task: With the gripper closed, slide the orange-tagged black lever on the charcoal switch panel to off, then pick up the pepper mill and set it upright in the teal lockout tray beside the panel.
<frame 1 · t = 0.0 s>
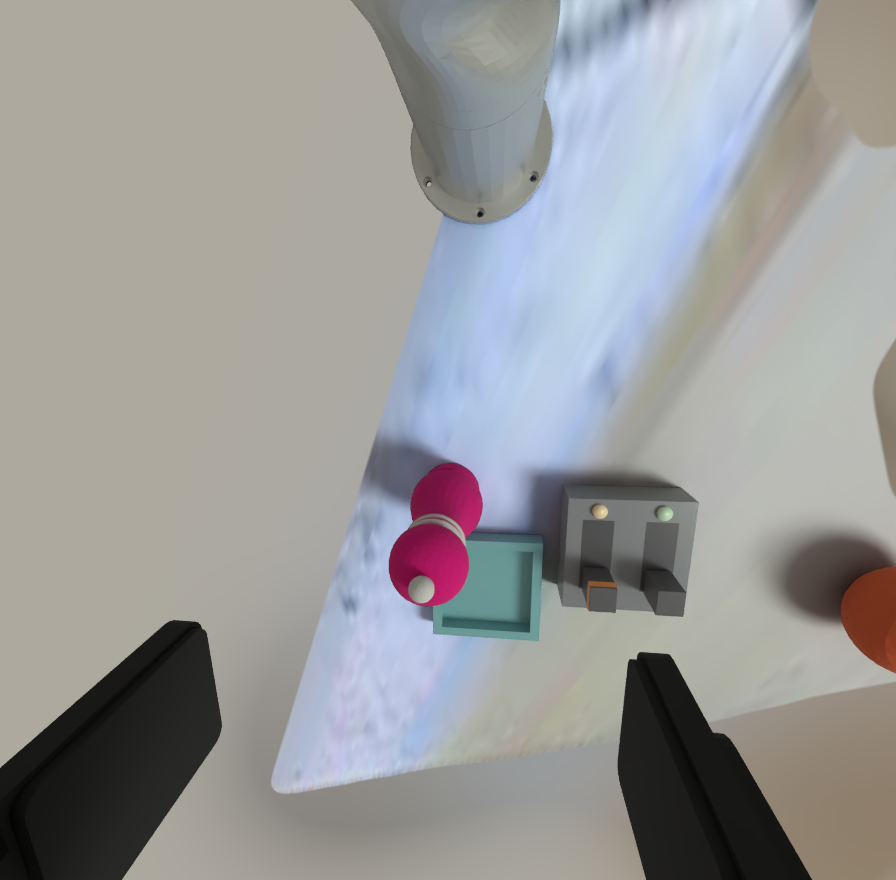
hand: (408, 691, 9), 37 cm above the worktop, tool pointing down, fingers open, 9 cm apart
pepper mill: (451, 489, 47), on the worktop
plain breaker: (663, 592, 41), point 6 cm above the worktop, slide at 0.0 cm
tagged breaker: (598, 589, 42), point 6 cm above the worktop, slide at 0.0 cm
breaker panel: (616, 538, 46), on the worktop
lockout tray: (486, 580, 49), on the worktop
tomato: (868, 591, 45), on the worktop
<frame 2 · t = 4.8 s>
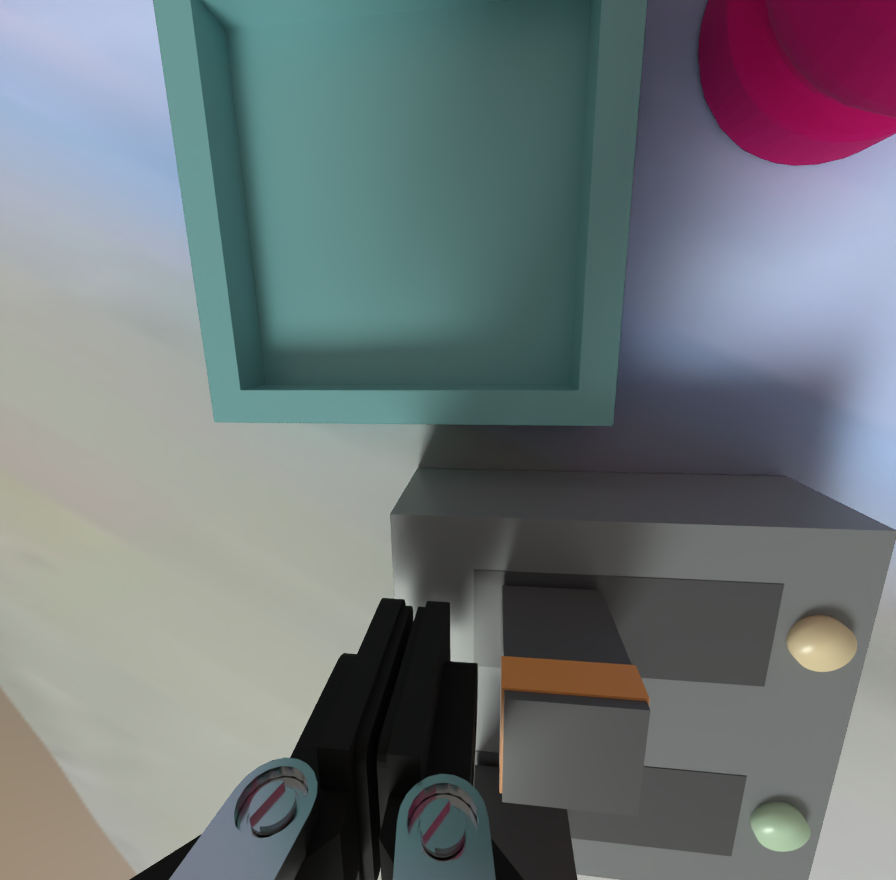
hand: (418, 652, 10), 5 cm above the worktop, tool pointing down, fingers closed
pepper mill: (818, 37, 11), on the worktop
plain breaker: (519, 874, 11), point 6 cm above the worktop, slide at 0.0 cm
tagged breaker: (558, 681, 10), point 6 cm above the worktop, slide at 0.7 cm, touching gripper
breaker panel: (582, 626, 16), on the worktop
lockout tray: (409, 220, 13), on the worktop
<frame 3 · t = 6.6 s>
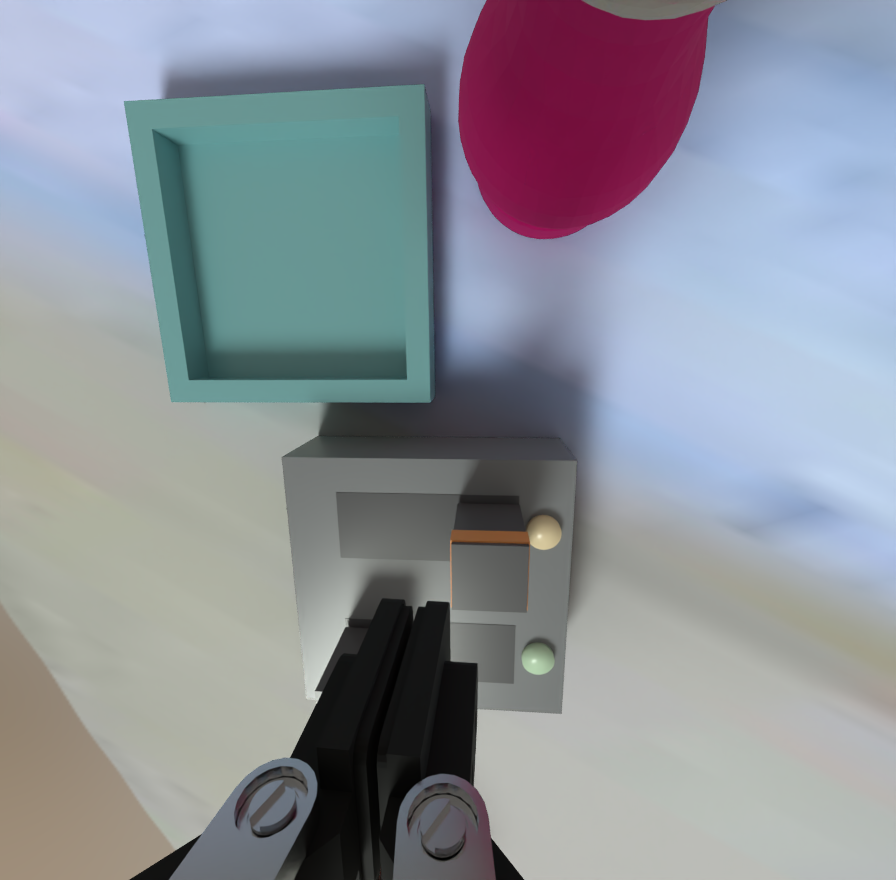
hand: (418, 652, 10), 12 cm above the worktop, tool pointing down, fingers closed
pepper mill: (548, 162, 18), on the worktop
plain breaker: (363, 682, 18), point 6 cm above the worktop, slide at 0.0 cm
tagged breaker: (488, 552, 16), point 6 cm above the worktop, slide at 5.1 cm
breaker panel: (437, 548, 23), on the worktop
lockout tray: (304, 267, 20), on the worktop
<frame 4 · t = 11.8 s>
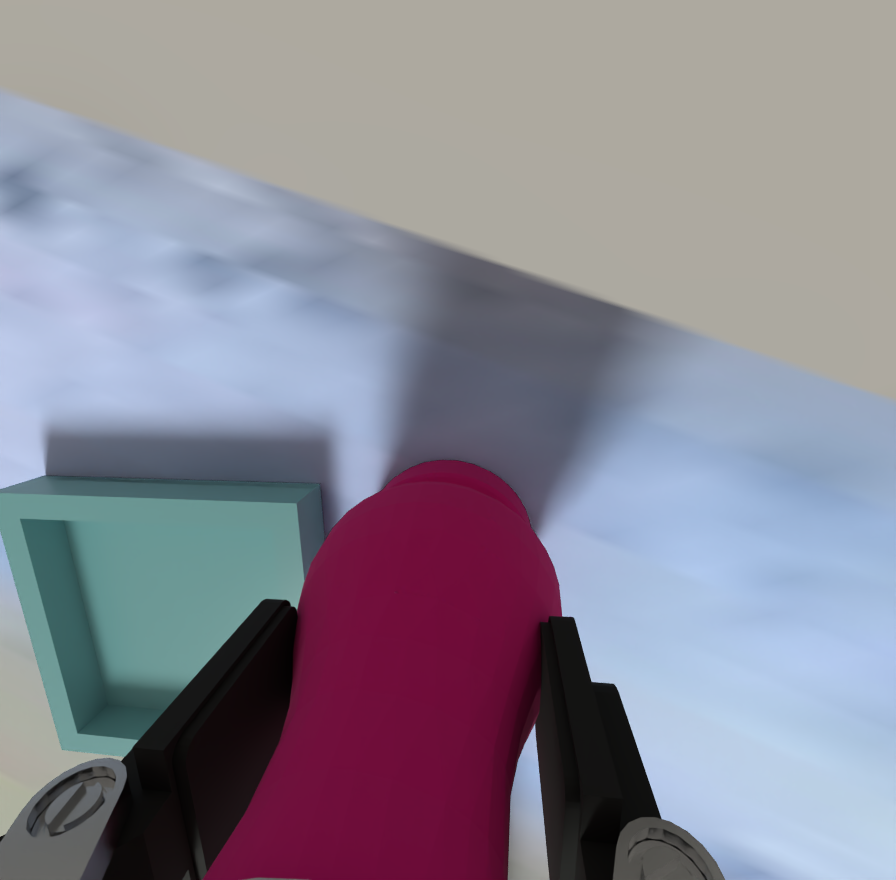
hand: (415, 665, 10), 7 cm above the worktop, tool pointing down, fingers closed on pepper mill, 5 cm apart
pepper mill: (449, 534, 17), on the worktop, touching gripper
lockout tray: (198, 610, 19), on the worktop
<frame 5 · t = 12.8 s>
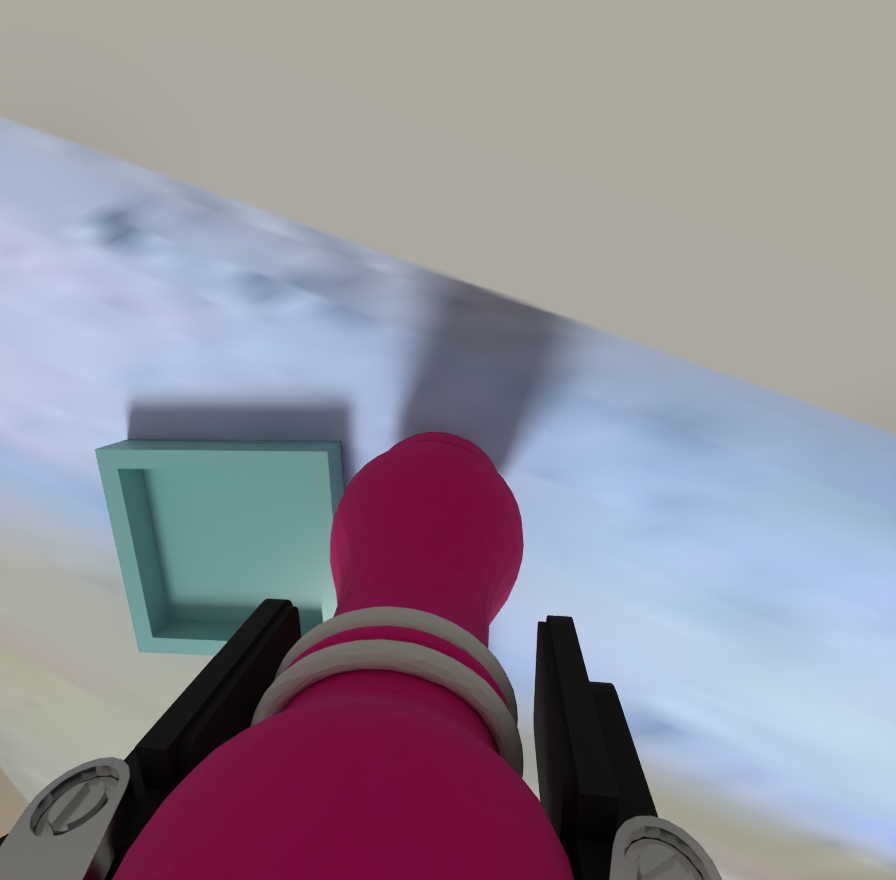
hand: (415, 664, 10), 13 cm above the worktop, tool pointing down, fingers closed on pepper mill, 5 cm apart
pepper mill: (436, 492, 21), point 2 cm above the worktop, touching gripper
lockout tray: (245, 542, 24), on the worktop
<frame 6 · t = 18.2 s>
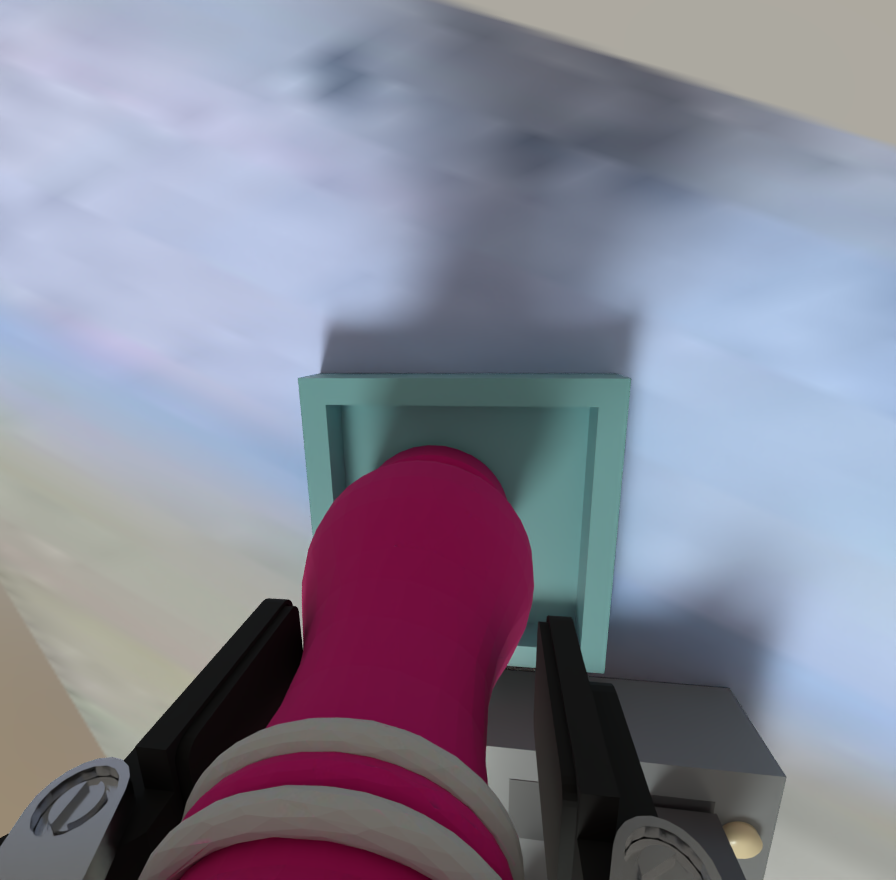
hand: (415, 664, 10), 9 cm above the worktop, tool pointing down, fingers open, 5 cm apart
pepper mill: (435, 513, 18), resting on lockout tray
breaker panel: (582, 777, 21), on the worktop
lockout tray: (462, 511, 19), on the worktop
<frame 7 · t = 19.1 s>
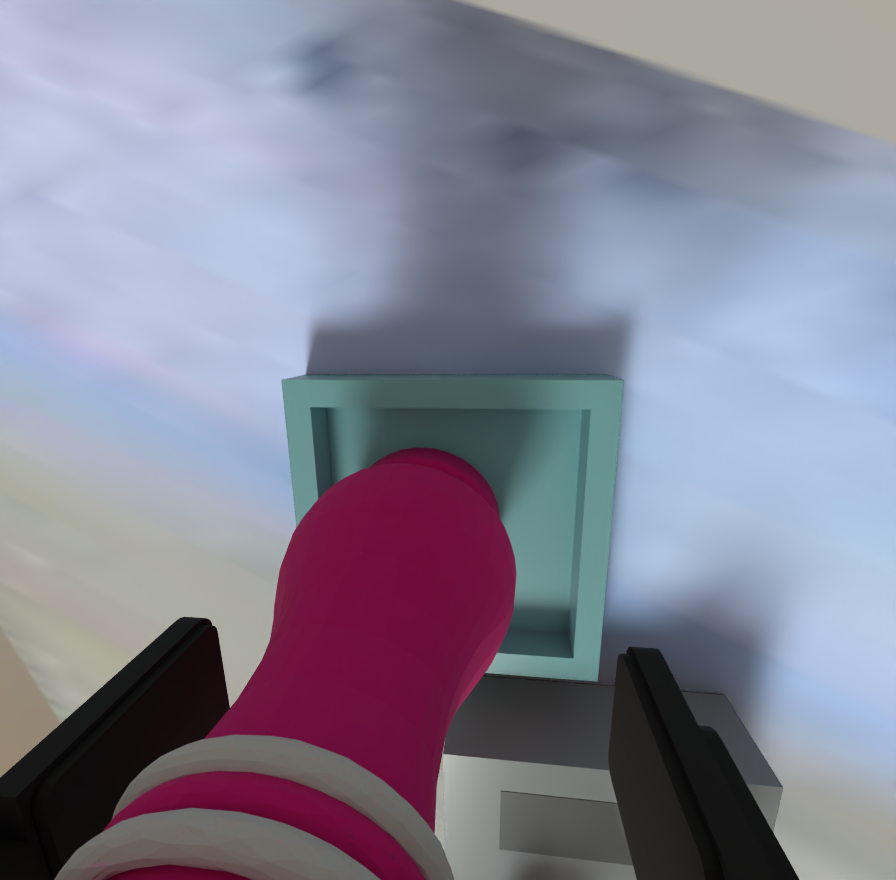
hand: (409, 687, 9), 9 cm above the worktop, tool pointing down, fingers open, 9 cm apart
pepper mill: (425, 516, 18), resting on lockout tray
breaker panel: (576, 786, 21), on the worktop
lockout tray: (452, 516, 18), on the worktop
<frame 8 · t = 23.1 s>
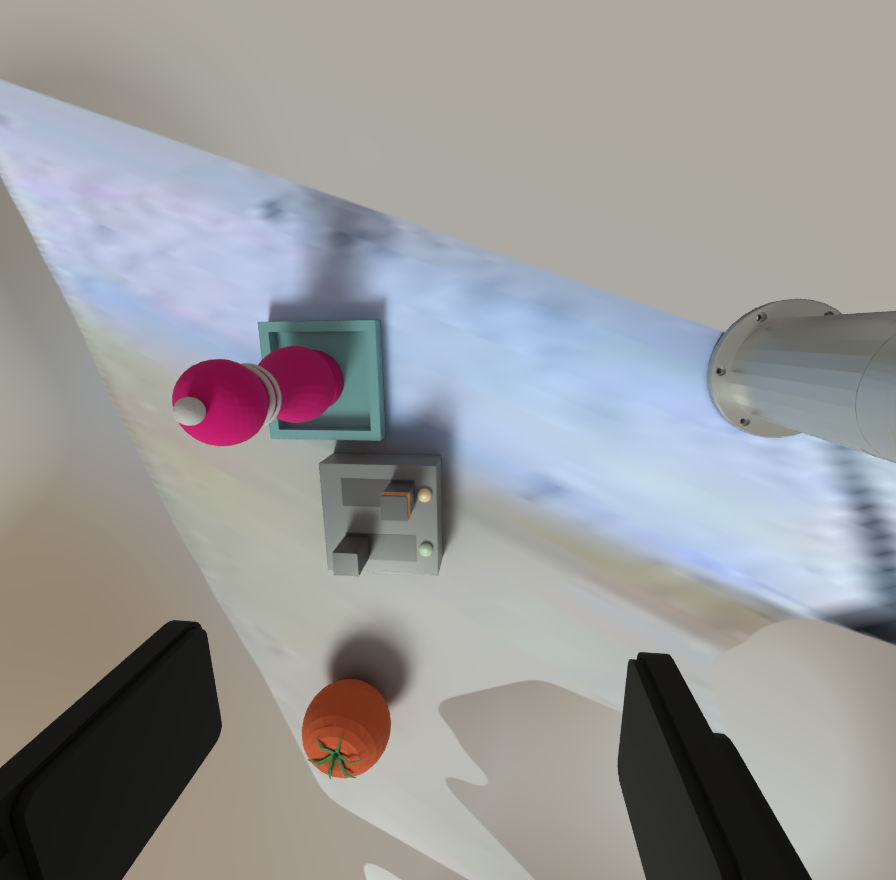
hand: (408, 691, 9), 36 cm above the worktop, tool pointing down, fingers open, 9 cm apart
pepper mill: (316, 379, 45), resting on lockout tray
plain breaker: (351, 555, 43), point 6 cm above the worktop, slide at 0.0 cm
tagged breaker: (398, 501, 41), point 6 cm above the worktop, slide at 5.1 cm
breaker panel: (388, 505, 48), on the worktop
lockout tray: (327, 380, 45), on the worktop
tomato: (360, 692, 55), on the worktop
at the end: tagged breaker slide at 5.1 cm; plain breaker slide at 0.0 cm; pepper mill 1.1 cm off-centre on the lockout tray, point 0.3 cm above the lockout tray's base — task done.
